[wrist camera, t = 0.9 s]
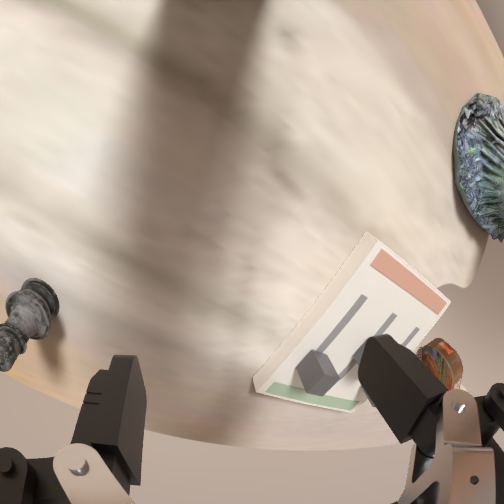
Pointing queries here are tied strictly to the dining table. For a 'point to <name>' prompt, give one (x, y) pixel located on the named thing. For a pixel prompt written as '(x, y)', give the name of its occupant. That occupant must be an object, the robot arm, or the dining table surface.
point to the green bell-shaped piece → (481, 162)
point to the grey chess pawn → (26, 319)
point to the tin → (443, 363)
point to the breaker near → (317, 373)
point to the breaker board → (354, 324)
